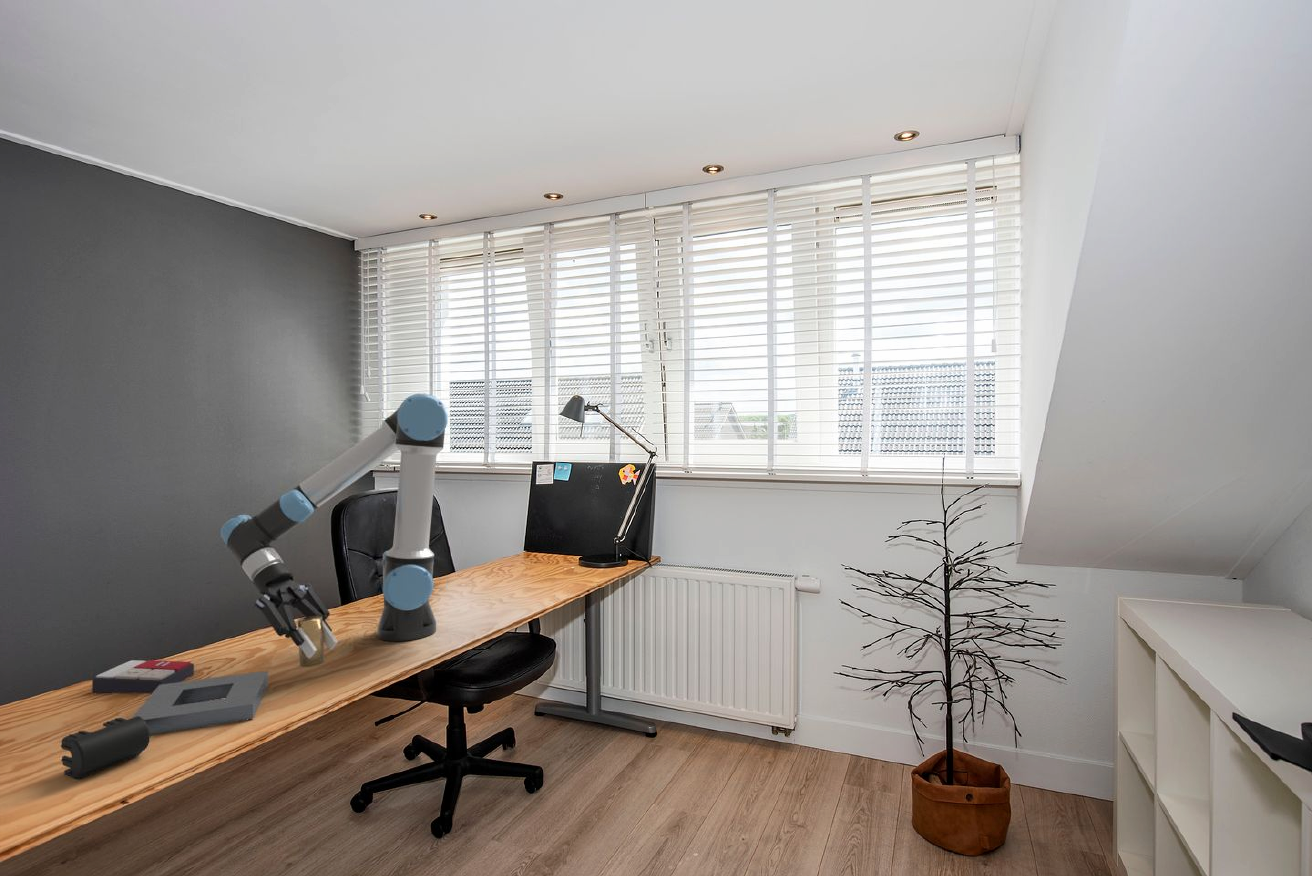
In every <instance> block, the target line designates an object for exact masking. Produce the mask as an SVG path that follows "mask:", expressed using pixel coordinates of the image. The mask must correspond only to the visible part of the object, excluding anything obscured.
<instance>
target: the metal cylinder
mask: <svg viewBox="0 0 1312 876" xmlns="http://www.w3.org/2000/svg"><path fill="white" fill-rule="evenodd" d="M300 627H301V628H302V629H303V630H304V632H305V633H306V635H307V636H308V637H309V639H310V640H311V642H312V643H313V644H314V646H315V647H316V649H317V651H316V652H315V653H314V655H313V656H312V657H311V658H309V659H308V657H307V656H306V654H305V653H304V652H303V650H302V649H301V647H300V646H298V660H299V661H298V663H299V667H302V668H309V667H311V668H312V667H314V666H315V667H316V666H319V665H321V664H324V663H325V647H324V645H325V643H324V642H323V621H322V616H308V617H306V616H304V617H301V618H299V619H297V629H298V628H300Z"/></svg>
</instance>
